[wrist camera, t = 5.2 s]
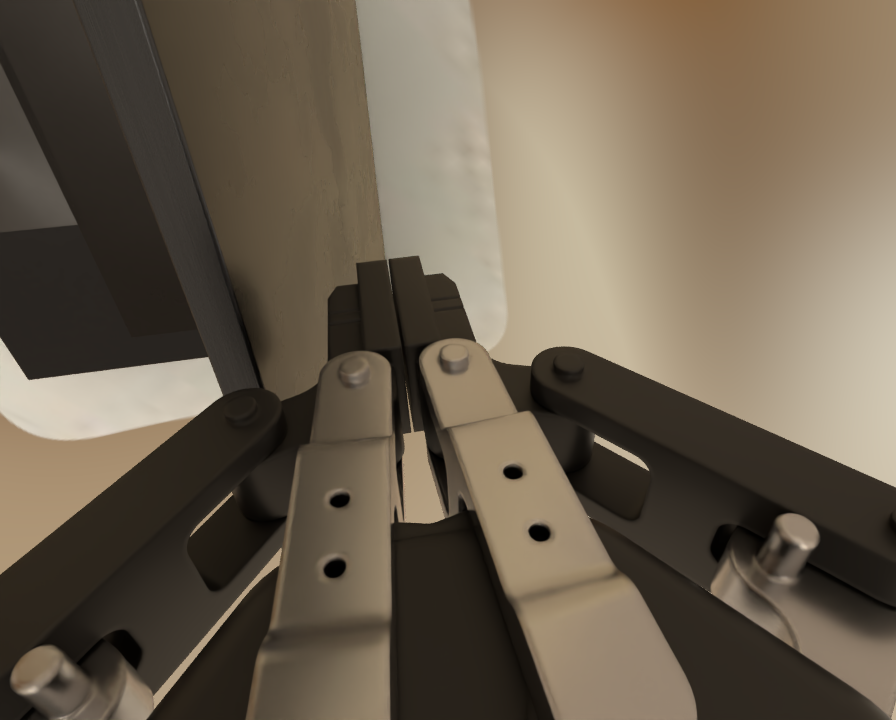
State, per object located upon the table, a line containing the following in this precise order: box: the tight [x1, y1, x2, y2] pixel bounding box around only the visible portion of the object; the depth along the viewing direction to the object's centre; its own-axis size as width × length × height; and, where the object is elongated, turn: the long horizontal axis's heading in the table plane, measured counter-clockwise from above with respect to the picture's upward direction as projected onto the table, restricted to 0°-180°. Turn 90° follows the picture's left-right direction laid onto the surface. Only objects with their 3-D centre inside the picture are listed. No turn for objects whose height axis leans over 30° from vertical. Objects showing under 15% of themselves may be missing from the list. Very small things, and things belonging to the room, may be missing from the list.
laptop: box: [0, 0, 208, 380], centre depth 26 cm, size 20×26×2 cm
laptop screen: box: [72, 0, 385, 548], centre depth 18 cm, size 20×26×1 cm
